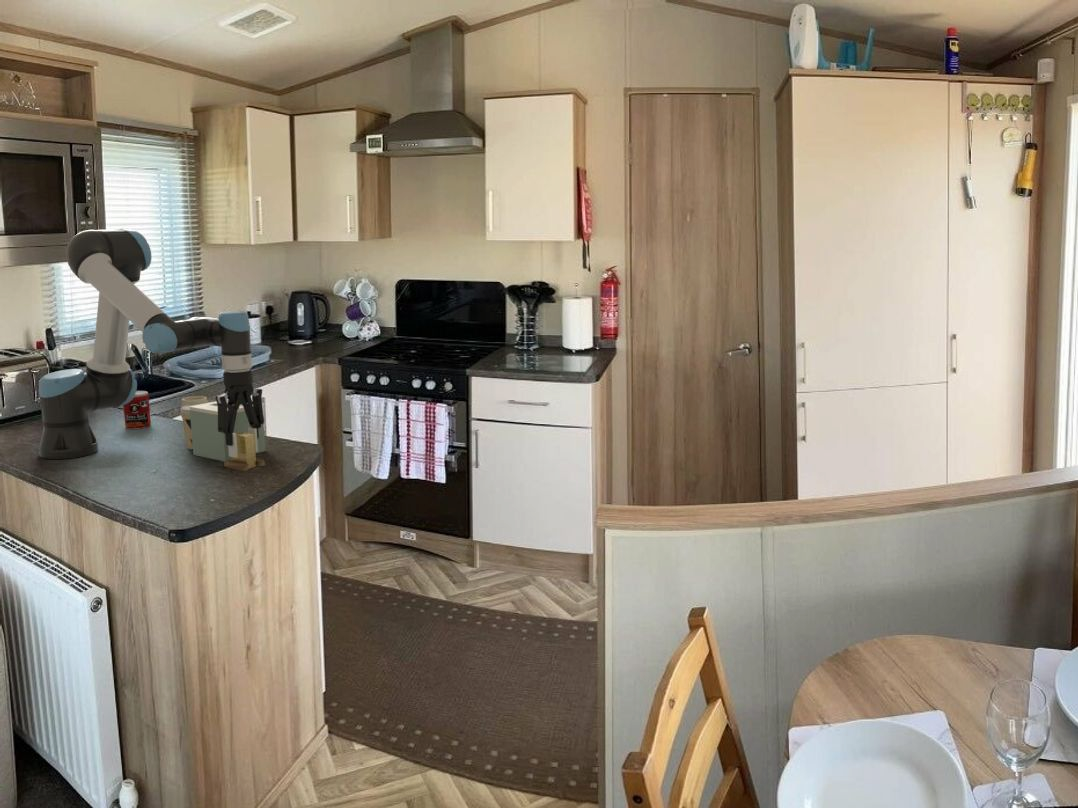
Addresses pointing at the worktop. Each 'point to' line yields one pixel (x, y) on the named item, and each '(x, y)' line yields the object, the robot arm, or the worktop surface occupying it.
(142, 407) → the canned food
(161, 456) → the worktop surface
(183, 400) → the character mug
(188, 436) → the coffee cup
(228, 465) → the holder
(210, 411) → the green cube box
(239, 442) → the yellow wooden block
